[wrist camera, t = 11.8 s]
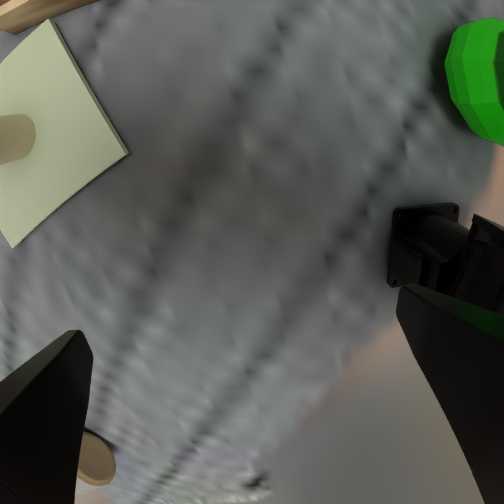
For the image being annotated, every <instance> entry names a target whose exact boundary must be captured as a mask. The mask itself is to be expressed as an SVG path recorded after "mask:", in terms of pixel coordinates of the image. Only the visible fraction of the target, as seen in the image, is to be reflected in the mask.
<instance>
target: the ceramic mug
mask: <svg viewBox="0 0 504 504" xmlns="http://www.w3.org/2000/svg"><path fill="white" fill-rule="evenodd" d="M115 471H116V464H115V460H114V456H113V454H112V452H111V451H110V449H109V447H108V446H107V445H106V444H105V443H104V442H103V441H102V440H101V439H100V438H98V437H97V436H95V435H93V434H91V433H89V432H83V438H82V444H81V450H80V457H79V465H78V472H77V481H76V490H75V497H79V496H82V495H84V494H87V493H90V492H92V491H94V490H97V489H100V488H102V487H104V486H105V485H107V484H108V483H109V482H110V481H111V480H112V479H113V477H114V475H115Z"/></svg>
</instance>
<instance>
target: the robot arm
mask: <svg viewBox="0 0 504 504" xmlns="http://www.w3.org/2000/svg"><path fill="white" fill-rule="evenodd" d="M453 209H454V211H453ZM400 213H401V216H400V217H398V216H399V214H400ZM458 215H459V206H458V205H457V204H455V203H446V204H434V205H422V206H411V207H400V208H397V209H395V211H394V213H393V223H392V236H391V238H390V247H389V257H388V277H387V283H388V285H389V286H390V287H392V288H394V287H399V286H402V287H401V288H400V290H399V295H398V301H397V307H396V315H397V319H398V321H399V323H400V325H401V327H402V330H403V332H404V334H405V336H406V339H407V341H408V343H409V345H410V348H411V350H412V353H413V355H414V357H415V359H416V360H417V363H418V365H419V366H420V368H421V370H422V372H423V373H424V375H425V377H426V379H427V381H428V383H429V385H430V387H431V388H432V390H433V392H434V394H435V396H436V398H437V400H438V402H439V404H440V406H441V408H442V410H443V411H444V413H445V415H446V418H447V420H448V421H449V424H450V426H451V427H452V430H453V432H454V434H455V436H456V438H457V440H458V442H459V444H460V447H461V449H462V451H463V453H464V455H465V458H466V460H467V462H468V464H469V467H470V469H471V471H473V472H472V474H473V476H474V478H475V481H476V483H477V486H478V488H479V491H480V493H481V496H482V498H483V501H484V503H485V504H504V227H503V226H501V225H499V224H497V223H495V222H492V221H490V220H488V219H486V218H483V217H481V216H479V215H476V214H474V215H473V218H472V222H473V223H472V225H471V228H470V230H469V229H467V228H465V227H464V226H462V225H460V224H458ZM393 280H395V281H394V282H392V281H393ZM92 366H93V353H92V351H91V349H90V346H89V344H88V342H87V340H86V338H85V336H84V334H83V332H82V331H81V330H69V331H67V332H65V333H64V334H63V335H61V336H60V337H58V338H57V339H56V340H54V341H53V342H52V343H50V344H49V345H48V346H46V347H45V348H44V349H42V350H41V351H40V352H38V353H37V354H36V355H34V356H33V357H32V358H31V359H29V360H28V361H27V362H25V363H24V364H23V365H21V366H20V367H19V368H18V369H16V370H15V371H14V372H12V373H11V374H10V375H9V376H7V377H6V378H5V379H3V380H2V381H1V382H0V504H74V501H75V490H76V481H77V472H78V465H79V457H80V450H81V444H82V438H83V432H84V426H85V420H86V415H87V409H88V403H89V394H90V384H91V375H92Z"/></svg>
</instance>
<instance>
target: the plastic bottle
mask: <svg viewBox="0 0 504 504" xmlns="http://www.w3.org/2000/svg"><path fill="white" fill-rule="evenodd" d="M444 66H445V71H446V75H447V80H448V86H449V91H450V97H451V99H452V101H453V102H454V104H455V105H456V107H457V108H458V110H459V111H460V113H461V114H462V116H463V118H464V119H465V121H466V122H467V124H468V126H469V127H470V129H471V130H472V131H473V132H474V133H476V134H477V135H478V136H479V137H481V138H484V139H487V140H489V141H492V142H494V143H497V144H499V145H502V146H504V21H502V20H499V19H496V18H492V17H491V18H486V19H481V20H477V21H474V22H471V23H468V24H465V25H462V26H459V28H458V29H457V30H456V31H455V32H454V33H453V36H452V39H451V43H450V46H449V50H448V53H447V56H446V60H445V64H444Z"/></svg>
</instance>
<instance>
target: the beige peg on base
mask: <svg viewBox="0 0 504 504" xmlns="http://www.w3.org/2000/svg"><path fill="white" fill-rule="evenodd" d="M128 153H129V152H128V150H127V148H126V147H125V145H124V144H123V142H122V140H121V139H120V137H119V135H118V134H117V132H116V130H115V129H114V127H113V125H112V124H111V122H110V120H109V119H108V117H107V115H106V114H105V112H104V110H103V109H102V107H101V105H100V104H99V102H98V100H97V98H96V97H95V95H94V93H93V92H92V90H91V88H90V86H89V85H88V83H87V81H86V79H85V78H84V76H83V74H82V72H81V71H80V69H79V67H78V65H77V63H76V62H75V60H74V58H73V56H72V54H71V53H70V51H69V49H68V47H67V45H66V43H65V42H64V40H63V38H62V36H61V34H60V32H59V30H58V28H57V27H56V25H55V23H54V21H53V20H51V19H49V18H48V19H47V20H46V21H45V22H43V23H42V24H41V25H40V26H39V27H38V28H37V29H35V30H34V31H33V32H32V33H31V34H30V35H29V36H28V37H27V38H26V39H25V40H23V41H22V42H21V43H20V44H19V45H18V46H17V47H16V48H15V49H14V50H13V51H12V52H11V53H10V54H9V55H8V56H7V57H6V58H5V59H4V61H3V62H2V63H1V64H0V230H1V232H2V233H3V235H4V237H5V238H6V240H7V241H8V243H9V244H10V246H11V247H12V249H13V248H14V247H15V246H17V245H18V244H19V243H20V242H21V241H22V240H23V239H24V238H25V237H26V236H27V235H28V234H29V233H30V232H31V231H32V230H34V229H35V228H36V227H37V226H38V225H39V224H40V223H41V222H42V221H43V220H45V219H46V218H47V217H48V216H49V215H50V214H51V213H53V212H54V211H55V210H56V209H57V208H58V207H59V206H61V205H62V204H63V203H64V202H65V201H67V200H68V199H69V198H70V197H71V196H73V195H74V194H75V193H76V192H78V191H79V190H80V189H81V188H83V187H84V186H85V185H86V184H88V183H89V182H90V181H92V180H93V179H94V178H95V177H97V176H98V175H99V174H101V173H102V172H103V171H105V170H106V169H107V168H109V167H110V166H112V165H113V164H114V163H116V162H117V161H118V160H120V159H121V158H123V157H124V156H125V155H127V154H128Z"/></svg>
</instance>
